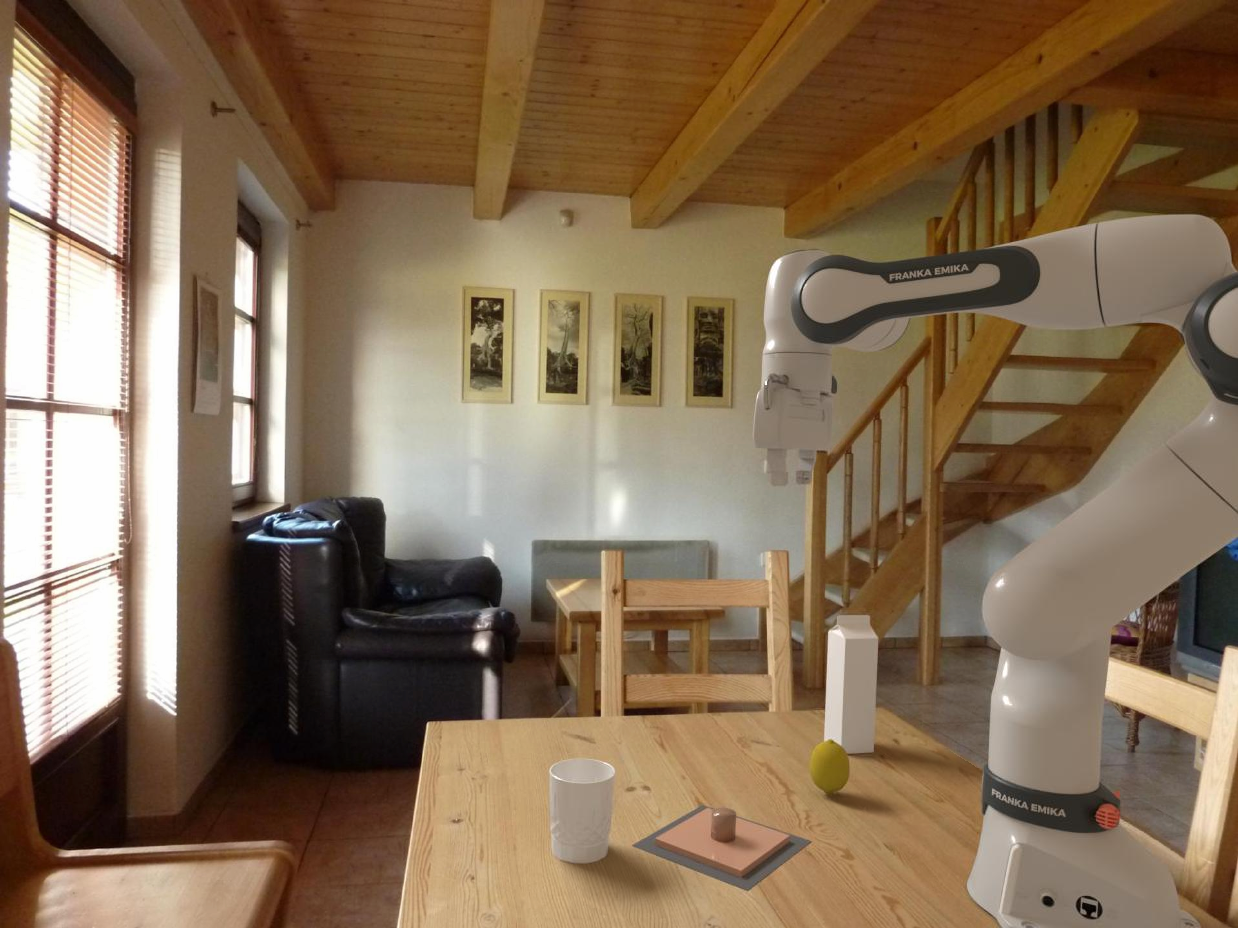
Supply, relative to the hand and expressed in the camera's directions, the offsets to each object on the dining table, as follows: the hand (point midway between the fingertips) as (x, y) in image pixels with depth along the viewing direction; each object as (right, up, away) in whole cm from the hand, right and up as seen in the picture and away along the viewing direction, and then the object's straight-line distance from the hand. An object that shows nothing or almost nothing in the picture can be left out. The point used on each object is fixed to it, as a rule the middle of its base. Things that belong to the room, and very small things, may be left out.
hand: (791, 485), depth 113 cm
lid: (-10, -44, -6) cm, 45 cm away
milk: (+16, -45, +31) cm, 56 cm away
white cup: (-27, -44, -9) cm, 53 cm away
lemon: (+7, -45, +11) cm, 47 cm away
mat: (-10, -44, -6) cm, 46 cm away
